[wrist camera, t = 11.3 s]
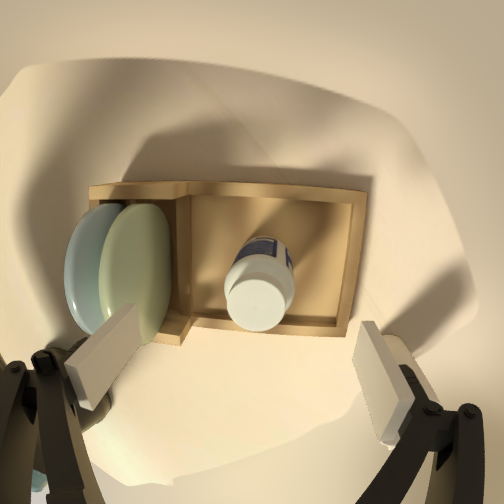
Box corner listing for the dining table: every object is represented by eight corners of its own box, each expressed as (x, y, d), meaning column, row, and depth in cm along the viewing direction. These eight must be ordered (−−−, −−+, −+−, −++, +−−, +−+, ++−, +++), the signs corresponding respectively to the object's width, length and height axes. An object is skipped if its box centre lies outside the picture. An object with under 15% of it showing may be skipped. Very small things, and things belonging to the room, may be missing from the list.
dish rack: (130, 307, 33) (105, 332, 27) (120, 181, 29) (88, 186, 23) (342, 327, 31) (352, 359, 25) (361, 190, 27) (381, 197, 21)
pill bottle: (226, 267, 29) (201, 313, 20) (257, 223, 28) (244, 252, 18) (271, 297, 30) (265, 353, 20) (303, 256, 28) (312, 299, 19)
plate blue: (139, 302, 31) (82, 361, 20) (131, 196, 28) (54, 216, 17) (148, 303, 31) (93, 364, 20) (141, 196, 28) (66, 217, 16)
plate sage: (166, 306, 31) (115, 371, 20) (161, 196, 28) (90, 217, 16) (176, 307, 31) (128, 374, 20) (172, 196, 28) (104, 217, 16)
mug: (360, 332, 31) (389, 405, 19) (411, 330, 30) (453, 394, 19) (347, 395, 34) (361, 467, 22) (393, 391, 33) (417, 457, 22)
